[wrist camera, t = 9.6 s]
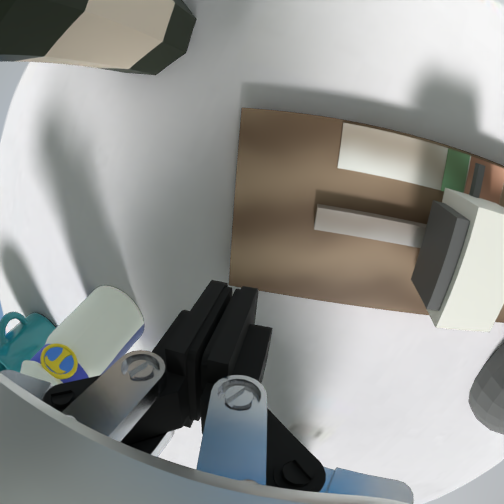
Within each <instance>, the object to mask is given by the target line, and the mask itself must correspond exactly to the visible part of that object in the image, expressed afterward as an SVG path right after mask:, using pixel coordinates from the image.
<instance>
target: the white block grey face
mask: <svg viewBox="0 0 504 504" xmlns="http://www.w3.org/2000/svg"><path fill="white" fill-rule="evenodd" d="M484 172H485V166H484V165H481V164H478V163H475V168H474V173H473V179H472V184H471V188H470V193H469V194H465V193H462V192H459V191H455V190H452V189H448V188H445V191H444V195H443V200H442V202H438V201H434V200H433V202H432V206H431V210H430V215H429V219H428V223H427V226H426V230H425V234H424V237H423V241H422V245H421V248H420V251H419V255H418V258H417V261H416V264H415V268H414V271H413V274H412V277H411V280H412V282H413V284H414V286H415V288H416V290H417V292H418V293H419V295H420V297H421V299H422V301H423V303H424V305H425V307H426V309H427V311H428V313H429V315H430V317H431V319H432V321H433V323H434V325H435V327H436V328H442V329H453V330H465V331H478V332H490V330H491V329H492V327H493V325H494V323H495V321H496V319H497V317H498V315H499V313H500V310H501V308H502V306H503V304H504V207H502V206H500V205H498V204H497V203H494V202H491V201H488V200H485V199H482V198H479V196H480V192H481V187H482V182H483V177H484Z"/></svg>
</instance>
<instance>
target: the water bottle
mask: <svg viewBox="0 0 504 504" xmlns="http://www.w3.org/2000/svg"><path fill="white" fill-rule="evenodd" d="M143 331H144V320H143V317H142V314H141V312H140V310H139V308H138V307H137V305H136V304H135V303H134V301H133V300H132V299H131V298H130V297H129V296H128V295H126V294H125V293H124V292H122V291H121V290H119V289H117V288H115V287H112V286H99V287H97V288H96V289H95V290H94V291H93V292H92V293H91V294H90V295H89V296H88V297H87V298H86V299H85V300H84V301H83V302H82V303H81V304H80V305H79V306H78V307H77V308H76V309H75V310H74V311H73V312H72V313H71V314H70V315H69V316H68V317H67V318H66V319H65V320H64V321H63V322H62V323H61V324H60V325H59V326H58V327H57V328H56V329H55V330H54V331H53V332H52V333H51V334H50V335H49V337H48V338H47V340H46V343H45V345H44V346H43V347H42V348H41V349H40V350H39V351H38V352H37V353H36V354H35V355H34V356H33V357H32V358H31V359H30V361H29V360H25V361H23V362H22V364H21V370H20V373H22V374H25V375H28V376H31V377H34V378H37V379H40V380H43V381H47V382H50V383H52V385H53V386H55V385H58V384H61V383H66V382H71V381H76V380H81V379H85V378H90V377H95V376H99V375H102V374H103V373H105V372H106V371H107V370H108V369H109V368H110V367H111V366H112V365H113V364H114V363H115V362H116V361H118V360H119V359H120V358H121V357H122V356H124V355H125V354H126V352H127V351H128V350H129V349H130V348H131V347H132V345H133V344H134V343H135V342H136V341H137V340H138V339H139V338H140V336H141V335H142V334H143Z"/></svg>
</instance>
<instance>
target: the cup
mask: <svg viewBox="0 0 504 504" xmlns="http://www.w3.org/2000/svg"><path fill="white" fill-rule="evenodd" d="M11 319H18V320H19V321H20V323H18V324H17V325H16V326H15V327H14V328H13V329H12V330H10V331H9V332H8V333H7V334H6V335H5V328H6V325H7V324H8V322H9V321H10V320H11ZM55 329H56V327H55V326H54V325H53V324H52V323H51V322H50V321H49V320H48V319H47V318H46V317H44V316H43V315H41V314H38V313H31V314H29V315H28V316H27V317H24V316H23V315H21V314H20V313H18V312H9V313H7V314H5V315H4V316H3V318H2V319H1V321H0V372H1V371H3V370H13V371H16V372H19V373H20V370H21V364H22V362H23V361H25V360H29V361H30V359H31V358H32V357H33V356H34V355H35V354H36V353H37V352H38V351H39V350H40V349H41V348H42V347H43V346H44V345H45V343H46V340H47V338H48V337H49V335H50V334H51V333H52V332H53V331H54V330H55Z"/></svg>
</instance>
